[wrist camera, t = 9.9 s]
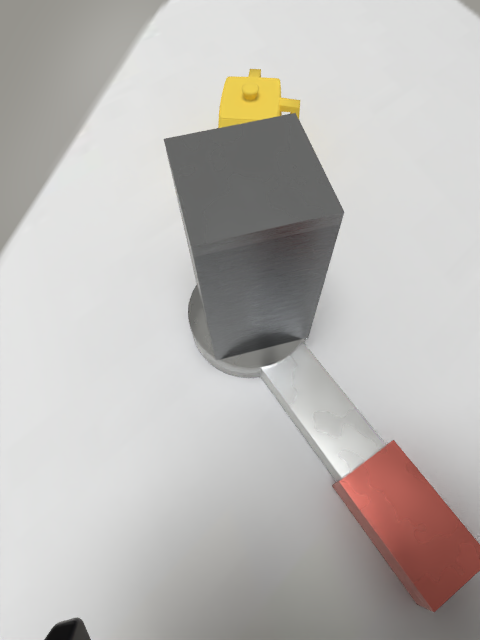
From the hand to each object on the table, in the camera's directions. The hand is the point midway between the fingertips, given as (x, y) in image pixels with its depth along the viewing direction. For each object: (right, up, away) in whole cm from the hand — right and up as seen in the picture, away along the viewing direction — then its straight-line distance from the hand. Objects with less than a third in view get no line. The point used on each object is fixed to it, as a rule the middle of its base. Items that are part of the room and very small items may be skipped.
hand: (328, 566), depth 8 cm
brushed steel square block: (-1, +5, +16) cm, 17 cm away
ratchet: (+2, 0, +15) cm, 15 cm away
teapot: (0, +18, +25) cm, 30 cm away
